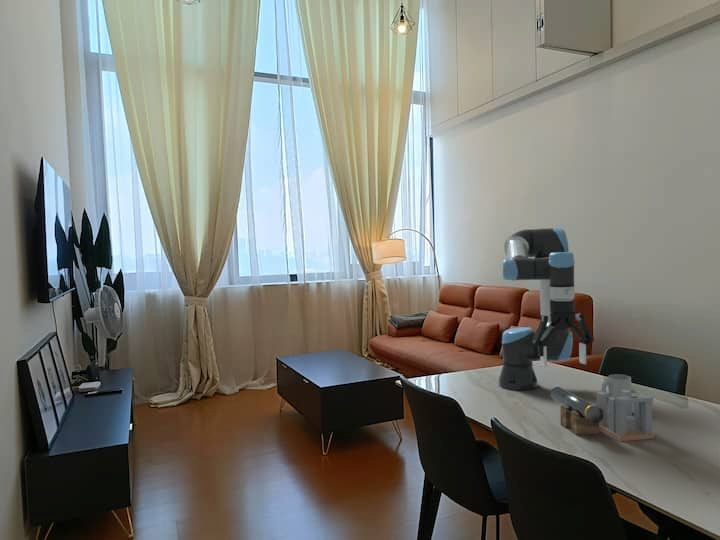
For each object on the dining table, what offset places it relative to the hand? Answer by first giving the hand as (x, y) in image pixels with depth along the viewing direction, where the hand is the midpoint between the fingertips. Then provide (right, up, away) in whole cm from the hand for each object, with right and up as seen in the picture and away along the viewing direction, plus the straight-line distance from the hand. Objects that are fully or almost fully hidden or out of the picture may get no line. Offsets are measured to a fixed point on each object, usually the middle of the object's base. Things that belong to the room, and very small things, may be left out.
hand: (563, 364), depth 163 cm
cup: (+26, -17, +17) cm, 35 cm away
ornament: (+24, -17, +4) cm, 30 cm away
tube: (+1, -13, -6) cm, 15 cm away
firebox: (+13, -18, -9) cm, 24 cm away
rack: (+2, -18, -8) cm, 20 cm away
